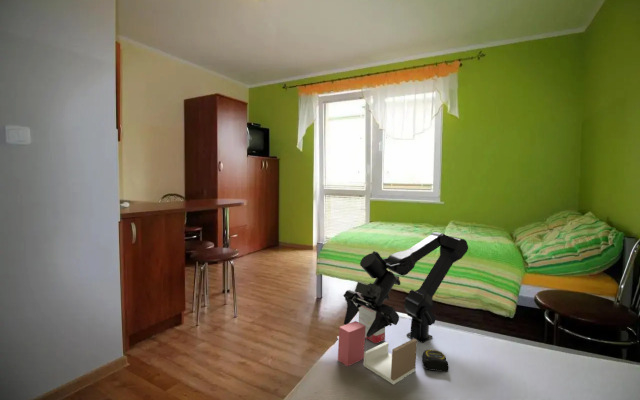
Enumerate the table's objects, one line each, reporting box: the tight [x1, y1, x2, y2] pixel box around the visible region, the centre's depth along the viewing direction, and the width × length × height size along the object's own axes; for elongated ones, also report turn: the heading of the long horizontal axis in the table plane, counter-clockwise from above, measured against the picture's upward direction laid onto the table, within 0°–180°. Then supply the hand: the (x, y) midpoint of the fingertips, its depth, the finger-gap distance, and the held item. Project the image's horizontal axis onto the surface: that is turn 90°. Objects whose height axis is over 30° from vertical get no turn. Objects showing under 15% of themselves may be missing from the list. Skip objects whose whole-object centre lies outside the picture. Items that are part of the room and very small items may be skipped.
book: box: [337, 320, 366, 367], centre depth 92 cm, size 7×4×10 cm, turn 130°
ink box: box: [358, 306, 386, 344], centre depth 106 cm, size 9×5×12 cm, turn 33°
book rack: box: [363, 338, 418, 385], centre depth 88 cm, size 10×10×9 cm
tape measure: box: [421, 349, 450, 373], centre depth 90 cm, size 7×7×4 cm
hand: (355, 330), depth 93 cm, fingers open, 9 cm apart
